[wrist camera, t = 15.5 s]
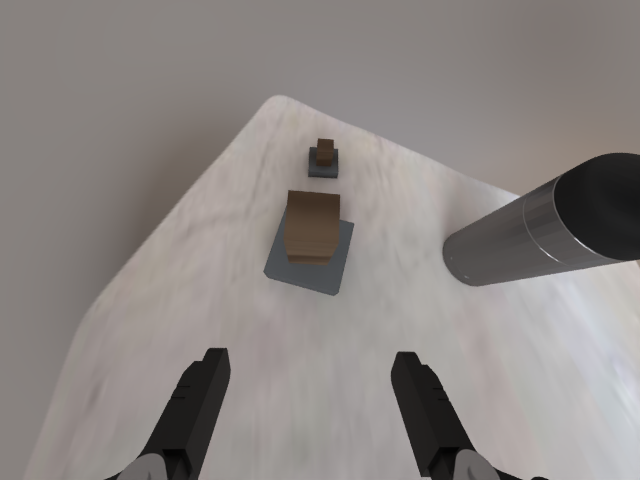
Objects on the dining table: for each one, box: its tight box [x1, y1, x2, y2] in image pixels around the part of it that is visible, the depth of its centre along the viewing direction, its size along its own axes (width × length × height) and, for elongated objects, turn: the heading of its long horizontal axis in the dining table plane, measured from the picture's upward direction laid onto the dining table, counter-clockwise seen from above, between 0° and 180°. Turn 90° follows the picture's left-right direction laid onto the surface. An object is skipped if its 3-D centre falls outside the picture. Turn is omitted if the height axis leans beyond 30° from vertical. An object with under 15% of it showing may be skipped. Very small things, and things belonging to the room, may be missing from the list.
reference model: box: [308, 139, 338, 178], centre depth 38 cm, size 5×5×5 cm
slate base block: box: [263, 206, 354, 296], centre depth 33 cm, size 10×10×5 cm
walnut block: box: [283, 190, 340, 265], centre depth 26 cm, size 5×5×10 cm
